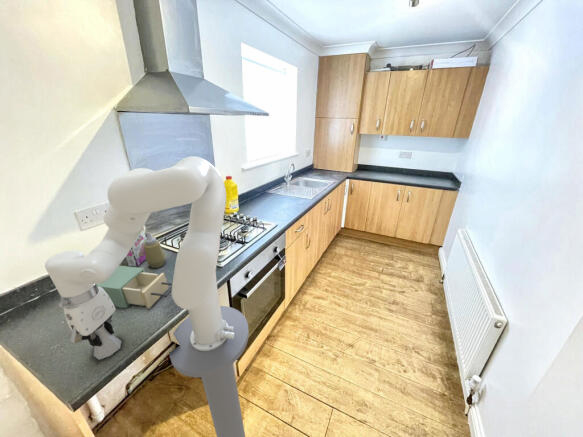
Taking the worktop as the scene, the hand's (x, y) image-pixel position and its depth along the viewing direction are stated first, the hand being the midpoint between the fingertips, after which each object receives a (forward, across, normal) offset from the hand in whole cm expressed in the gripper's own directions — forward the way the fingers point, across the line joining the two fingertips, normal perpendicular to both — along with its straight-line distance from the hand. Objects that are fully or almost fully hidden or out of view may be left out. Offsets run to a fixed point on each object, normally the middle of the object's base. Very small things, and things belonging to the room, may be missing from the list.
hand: (103, 338), depth 72 cm
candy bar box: (+5, +45, +26) cm, 52 cm away
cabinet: (+5, +22, +15) cm, 27 cm away
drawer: (+4, +22, +1) cm, 22 cm away
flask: (+5, 0, 0) cm, 5 cm away
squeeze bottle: (+5, +43, +15) cm, 46 cm away
